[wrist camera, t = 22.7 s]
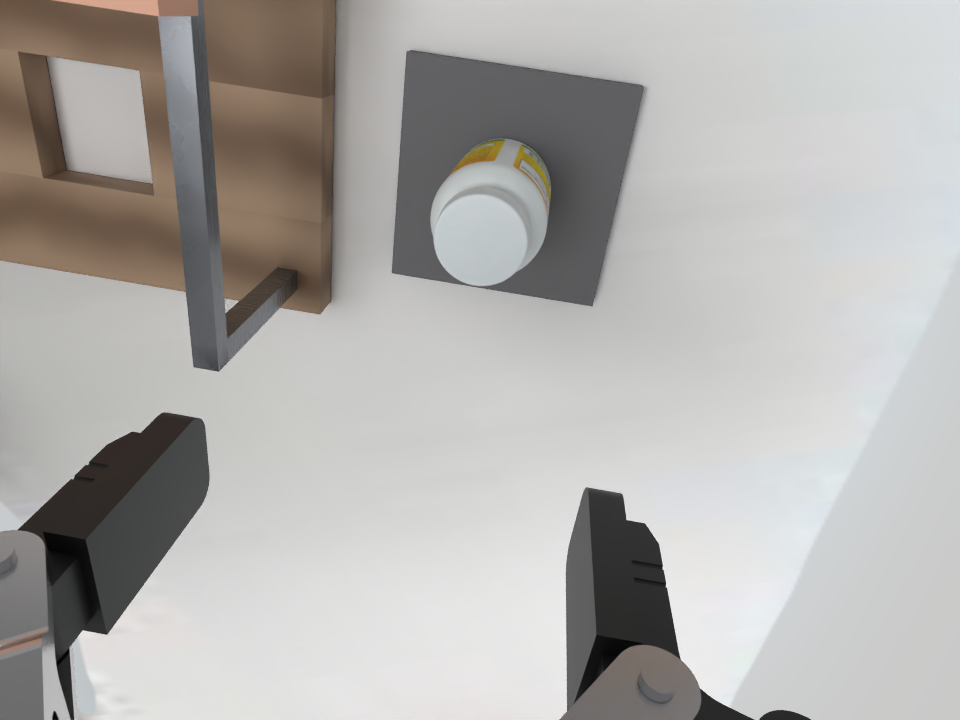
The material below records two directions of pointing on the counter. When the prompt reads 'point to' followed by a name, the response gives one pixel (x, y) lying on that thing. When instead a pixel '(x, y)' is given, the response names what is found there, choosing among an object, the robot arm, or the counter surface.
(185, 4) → the sliding cover
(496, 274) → the supplement bottle
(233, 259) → the well board
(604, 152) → the mat
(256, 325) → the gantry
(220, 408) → the counter surface
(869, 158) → the counter surface
